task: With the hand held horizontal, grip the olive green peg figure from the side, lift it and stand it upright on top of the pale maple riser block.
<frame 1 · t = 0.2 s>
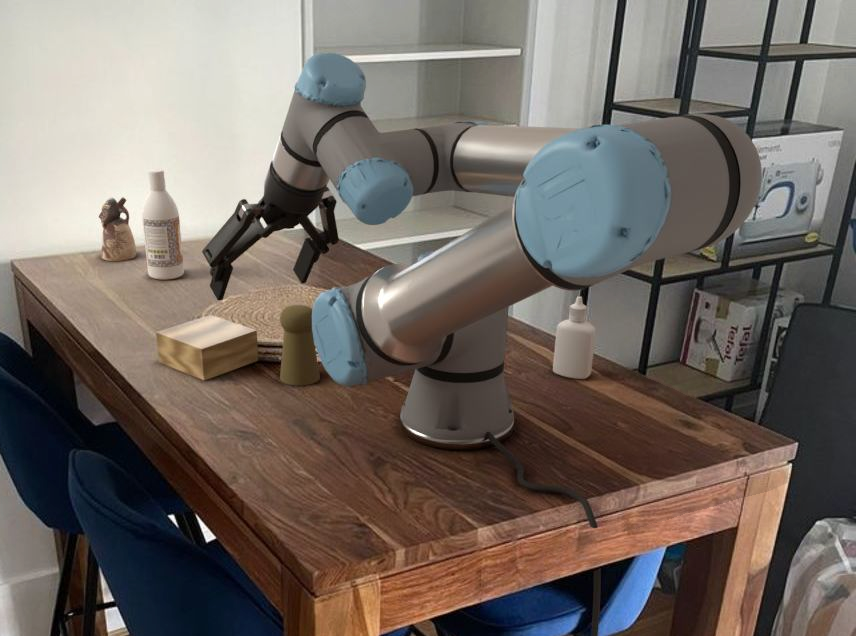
hand: (258, 284, 144), 15 cm above the table, tool tilted 35°, fingers open, 13 cm apart
olive green peg figure: (300, 378, 153), on the table
riser block: (208, 361, 159), on the table
figurine: (119, 257, 211), on the table
eye dropper bottle: (571, 375, 153), on the table
bath foam: (166, 276, 199), on the table
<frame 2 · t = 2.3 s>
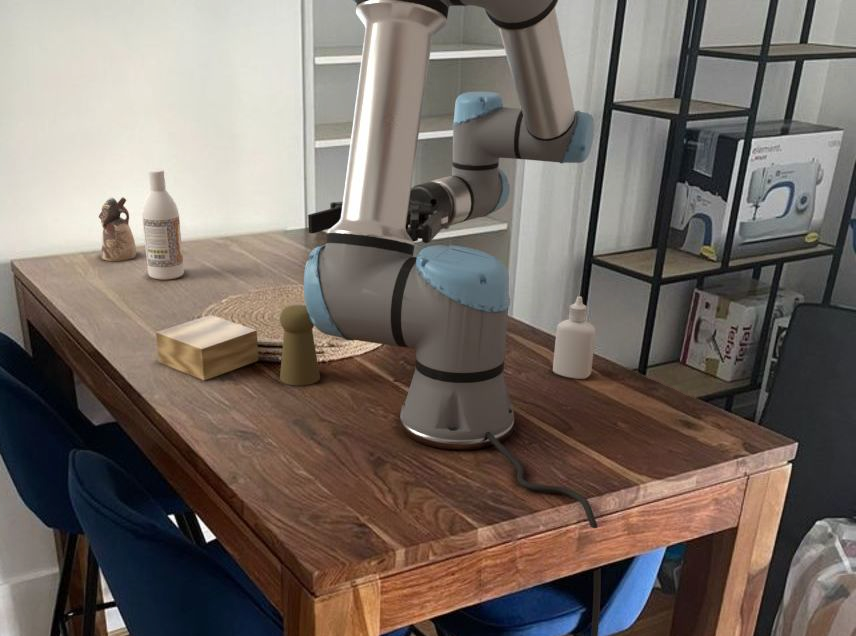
hand: (341, 232, 149), 20 cm above the table, tool horizontal, fingers open, 13 cm apart
nothing on the table moved.
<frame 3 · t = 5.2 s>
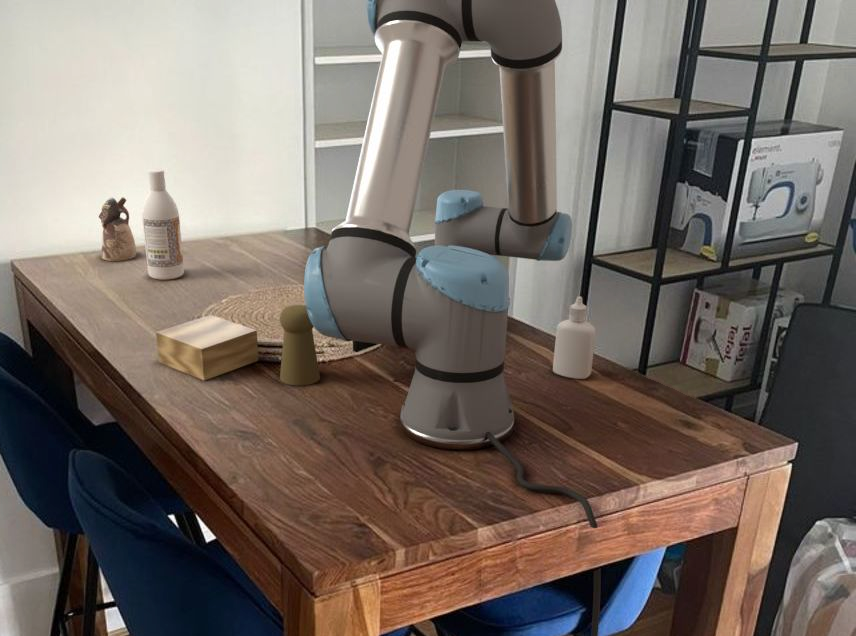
hand: (322, 332, 153), 6 cm above the table, tool horizontal, fingers open, 13 cm apart
nothing on the table moved.
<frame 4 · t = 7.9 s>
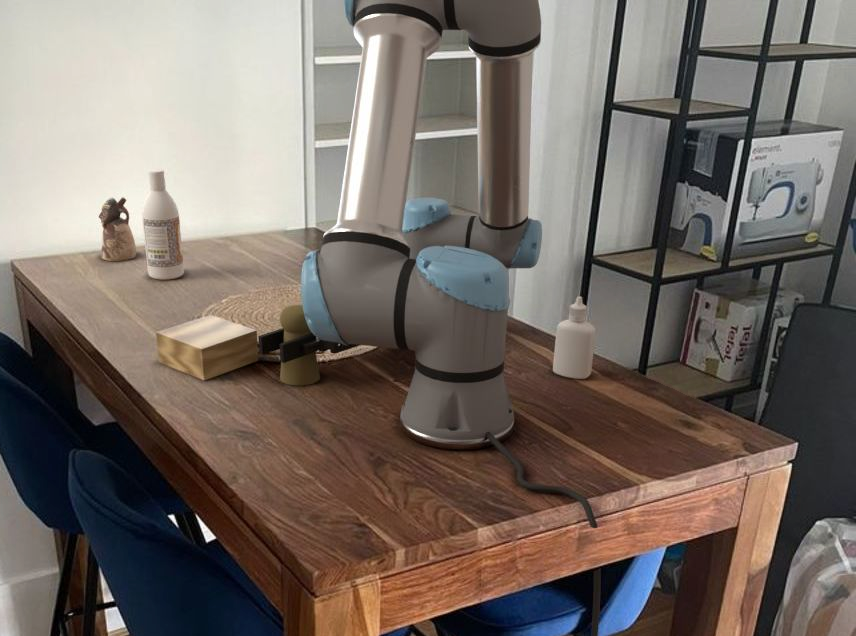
hand: (271, 349, 147), 6 cm above the table, tool horizontal, fingers closed on olive green peg figure, 4 cm apart
olive green peg figure: (299, 378, 153), on the table, touching gripper
everything else where it was.
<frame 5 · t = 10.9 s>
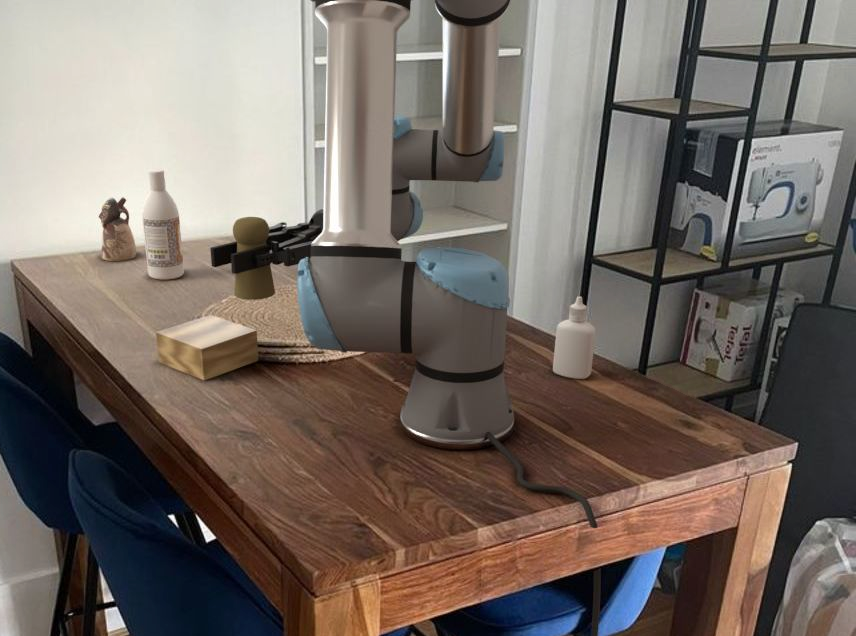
hand: (222, 260, 144), 18 cm above the table, tool horizontal, fingers closed on olive green peg figure, 4 cm apart
olive green peg figure: (254, 294, 150), point 12 cm above the table, touching gripper
everything else where it was.
when the fingers open (11 cm above the table, at t = 14.2 s): olive green peg figure stays where it is, resting on riser block.
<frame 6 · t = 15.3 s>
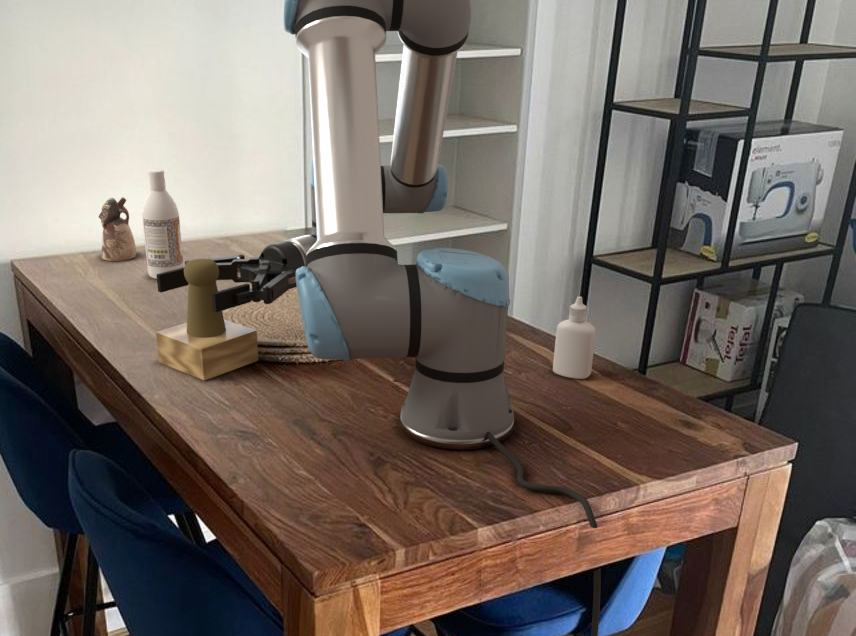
hand: (185, 292, 151), 12 cm above the table, tool horizontal, fingers open, 13 cm apart
olive green peg figure: (206, 332, 157), point 5 cm above the table, touching riser block
everything else where it was.
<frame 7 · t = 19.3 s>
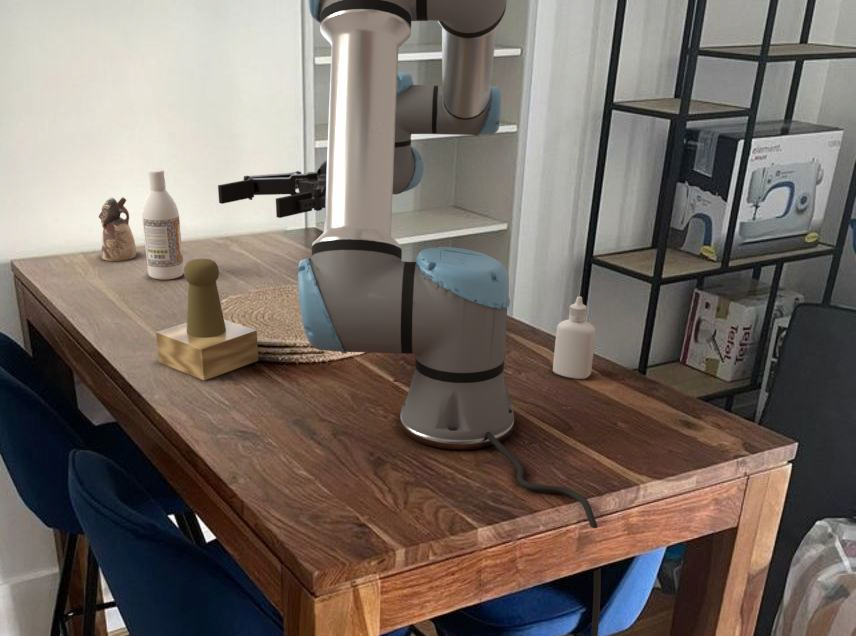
hand: (247, 201, 154), 23 cm above the table, tool horizontal, fingers open, 13 cm apart
nothing on the table moved.
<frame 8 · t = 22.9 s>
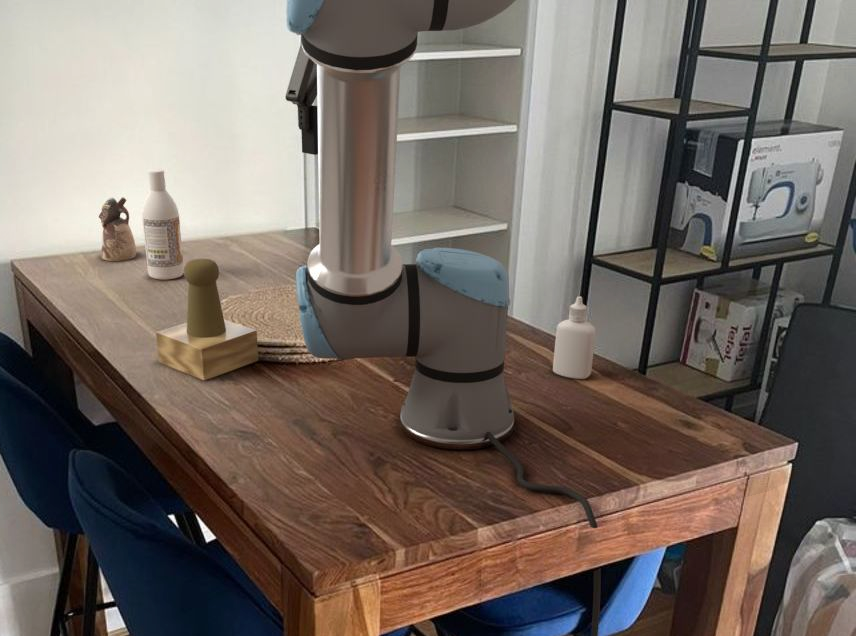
hand: (343, 147, 151), 31 cm above the table, tool pointing down, fingers open, 13 cm apart
nothing on the table moved.
at the end: olive green peg figure inside the target area on the riser block (0.1 cm from its centre), point 4.8 cm above the riser block's base; olive green peg figure tilted 0°; the gripper is holding nothing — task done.
